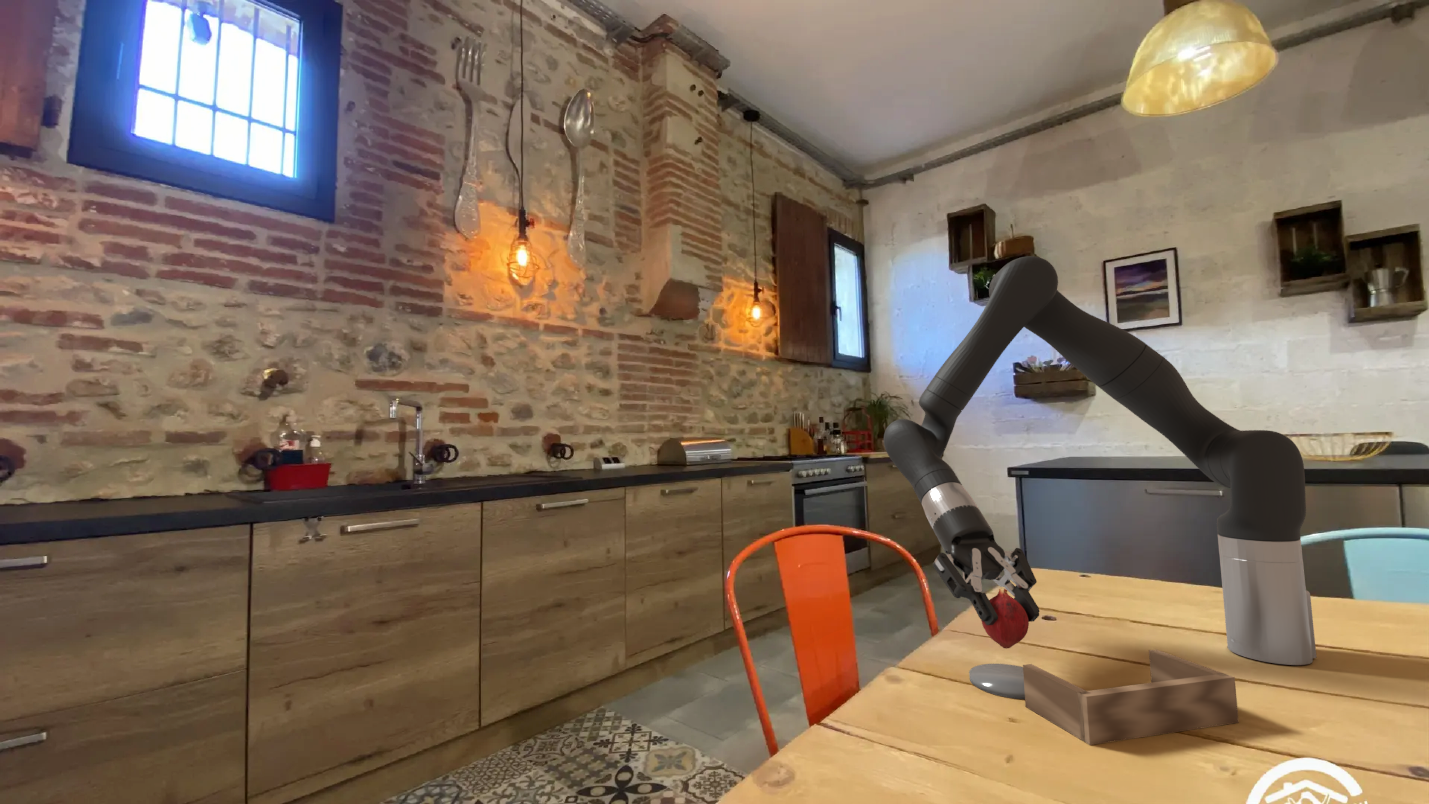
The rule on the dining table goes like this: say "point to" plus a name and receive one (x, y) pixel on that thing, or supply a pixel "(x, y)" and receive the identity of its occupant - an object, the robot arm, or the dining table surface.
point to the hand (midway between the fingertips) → (1013, 620)
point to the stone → (999, 679)
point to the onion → (1007, 620)
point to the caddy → (1136, 701)
